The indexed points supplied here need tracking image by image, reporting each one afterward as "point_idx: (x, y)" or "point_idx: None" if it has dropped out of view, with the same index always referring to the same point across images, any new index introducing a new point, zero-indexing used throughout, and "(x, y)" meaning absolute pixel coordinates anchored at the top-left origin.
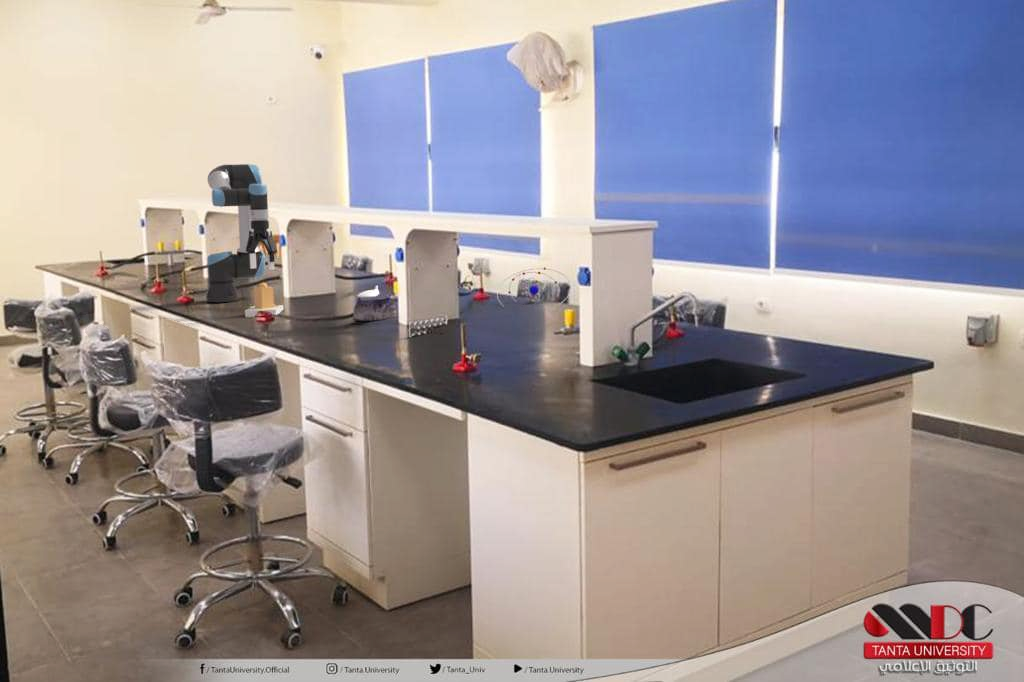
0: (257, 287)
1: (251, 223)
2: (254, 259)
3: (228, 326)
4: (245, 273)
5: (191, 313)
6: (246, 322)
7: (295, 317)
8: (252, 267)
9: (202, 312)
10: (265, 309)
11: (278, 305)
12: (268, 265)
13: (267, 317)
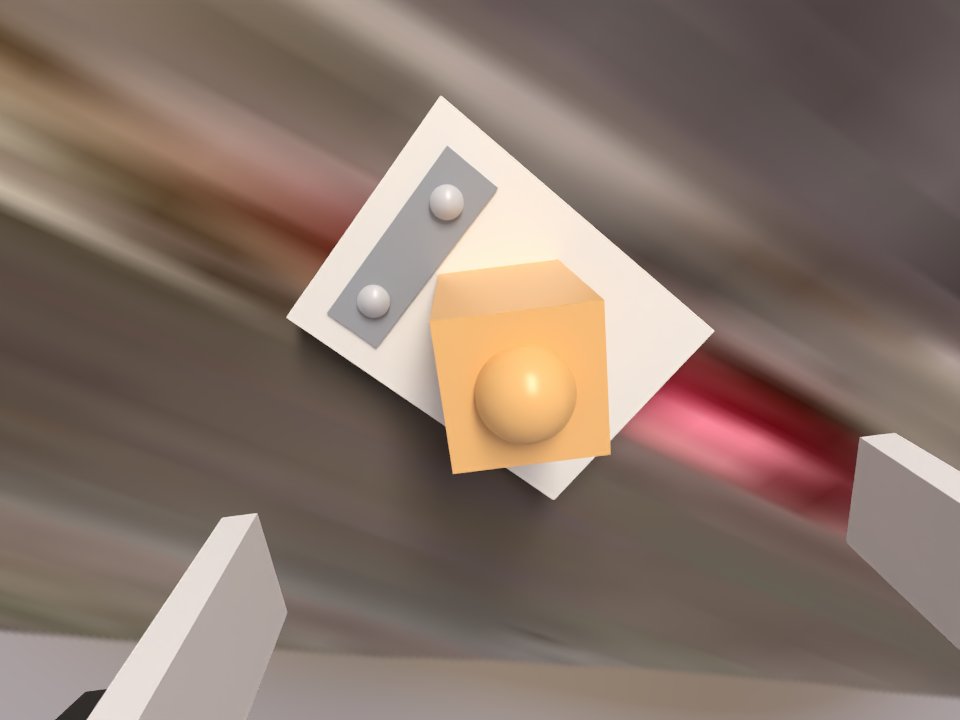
0: (500, 449)
1: None
2: (184, 715)
3: (838, 681)
4: None
5: (39, 604)
6: (781, 566)
7: (861, 240)
8: (271, 603)
9: (20, 541)
10: (630, 377)
11: (469, 164)
12: (931, 602)
13: (675, 377)
